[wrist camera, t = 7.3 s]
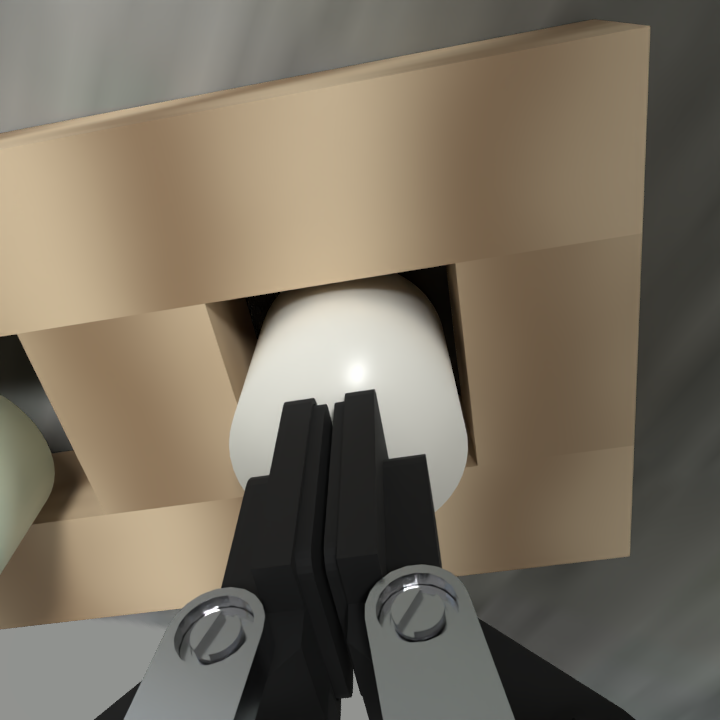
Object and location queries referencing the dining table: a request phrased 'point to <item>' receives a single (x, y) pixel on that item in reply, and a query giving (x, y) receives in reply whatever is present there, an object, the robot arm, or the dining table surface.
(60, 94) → the dining table surface
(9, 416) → the pale green rounded knob
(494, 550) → the oak panel
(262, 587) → the robot arm
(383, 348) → the white rounded dome
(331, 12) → the dining table surface
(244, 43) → the dining table surface
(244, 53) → the dining table surface
